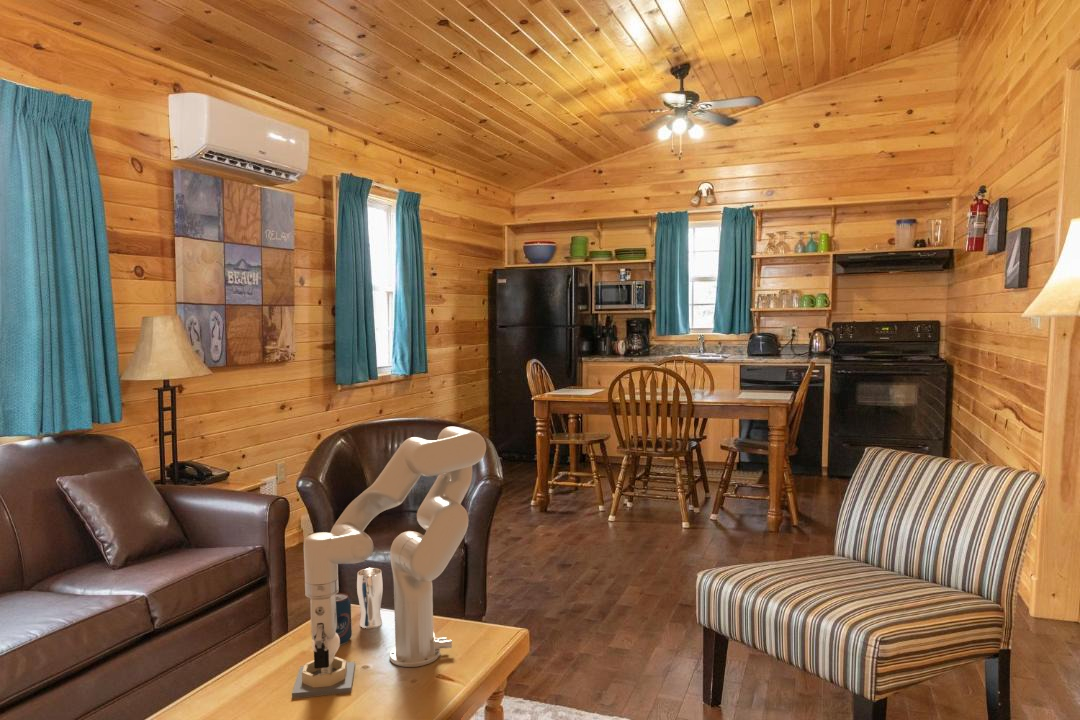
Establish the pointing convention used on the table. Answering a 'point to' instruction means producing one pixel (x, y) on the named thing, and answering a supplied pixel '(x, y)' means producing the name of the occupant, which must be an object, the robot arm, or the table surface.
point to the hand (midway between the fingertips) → (324, 657)
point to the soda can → (343, 617)
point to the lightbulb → (330, 651)
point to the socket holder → (324, 679)
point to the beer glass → (370, 597)
